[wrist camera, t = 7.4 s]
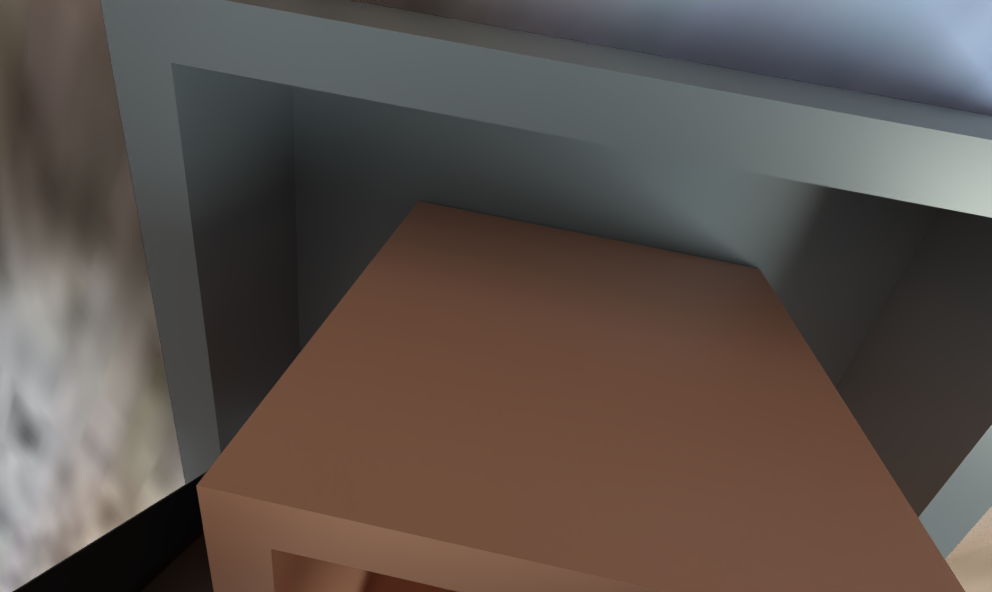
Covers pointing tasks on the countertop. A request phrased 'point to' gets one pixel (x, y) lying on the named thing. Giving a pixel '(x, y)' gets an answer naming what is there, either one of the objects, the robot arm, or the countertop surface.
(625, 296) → the small crate
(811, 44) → the countertop surface
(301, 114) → the large crate
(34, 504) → the countertop surface
